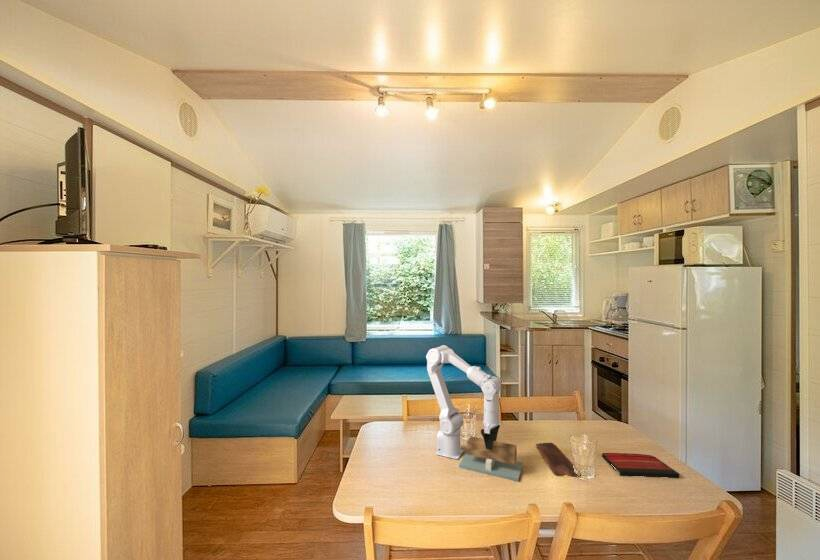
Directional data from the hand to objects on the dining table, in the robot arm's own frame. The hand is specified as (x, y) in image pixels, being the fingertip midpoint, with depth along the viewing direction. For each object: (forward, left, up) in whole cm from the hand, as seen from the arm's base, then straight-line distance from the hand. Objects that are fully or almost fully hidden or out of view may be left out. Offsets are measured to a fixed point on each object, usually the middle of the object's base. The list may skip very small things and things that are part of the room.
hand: (491, 444), depth 137 cm
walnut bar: (0, 0, -4) cm, 4 cm away
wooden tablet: (+22, +17, -9) cm, 30 cm away
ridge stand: (0, 0, -8) cm, 8 cm away
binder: (+51, +25, -9) cm, 58 cm away
